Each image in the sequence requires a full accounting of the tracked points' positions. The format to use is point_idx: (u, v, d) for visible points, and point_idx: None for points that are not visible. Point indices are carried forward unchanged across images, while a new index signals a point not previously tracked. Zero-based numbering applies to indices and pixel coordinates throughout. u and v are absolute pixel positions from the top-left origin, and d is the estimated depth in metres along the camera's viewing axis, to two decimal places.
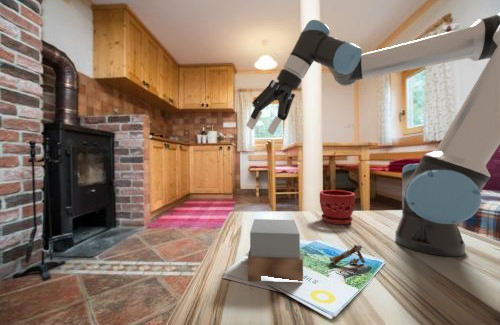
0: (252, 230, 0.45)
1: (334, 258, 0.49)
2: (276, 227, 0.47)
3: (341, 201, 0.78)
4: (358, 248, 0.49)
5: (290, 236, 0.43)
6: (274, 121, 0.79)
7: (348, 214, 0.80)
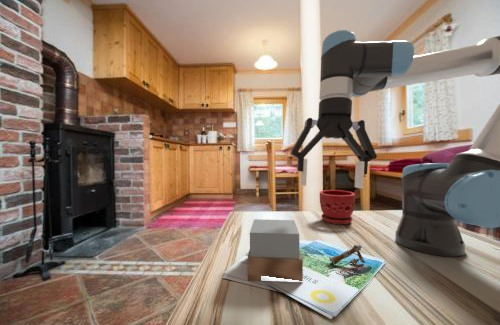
0: (252, 230, 0.45)
1: (334, 258, 0.49)
2: (276, 227, 0.47)
3: (341, 201, 0.78)
4: (358, 248, 0.49)
5: (290, 236, 0.43)
6: (356, 168, 0.52)
7: (348, 214, 0.80)
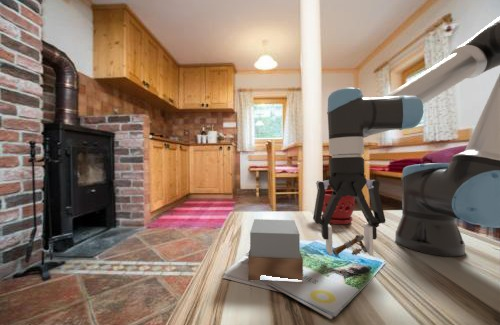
0: (252, 230, 0.45)
1: (336, 248, 0.49)
2: (276, 227, 0.47)
3: (341, 201, 0.78)
4: (360, 238, 0.49)
5: (290, 236, 0.43)
6: (365, 232, 0.50)
7: (348, 214, 0.80)
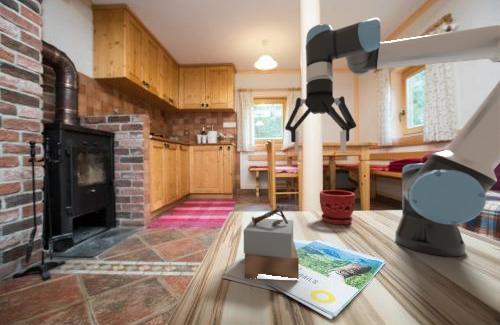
0: (246, 228, 0.46)
1: (255, 218, 0.48)
2: (271, 226, 0.47)
3: (341, 201, 0.78)
4: (280, 208, 0.48)
5: (282, 236, 0.43)
6: (341, 137, 0.63)
7: (348, 214, 0.80)
